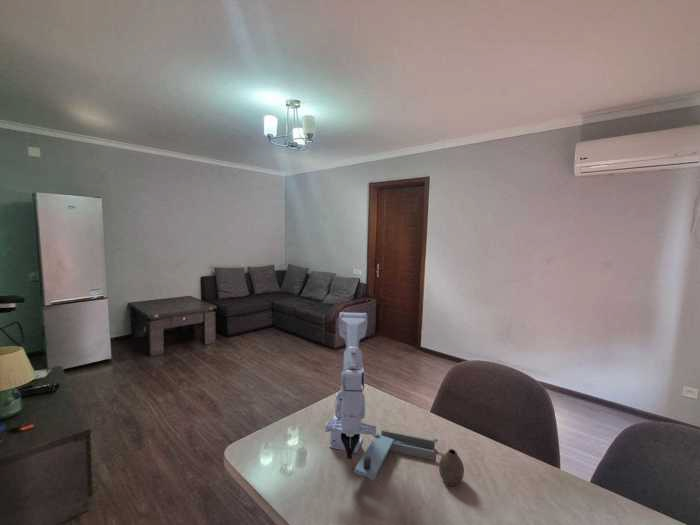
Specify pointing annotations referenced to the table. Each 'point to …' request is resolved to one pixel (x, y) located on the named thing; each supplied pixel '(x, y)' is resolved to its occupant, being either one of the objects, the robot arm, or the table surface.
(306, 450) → the table surface
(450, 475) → the vase
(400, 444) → the grey u-channel
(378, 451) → the cover
